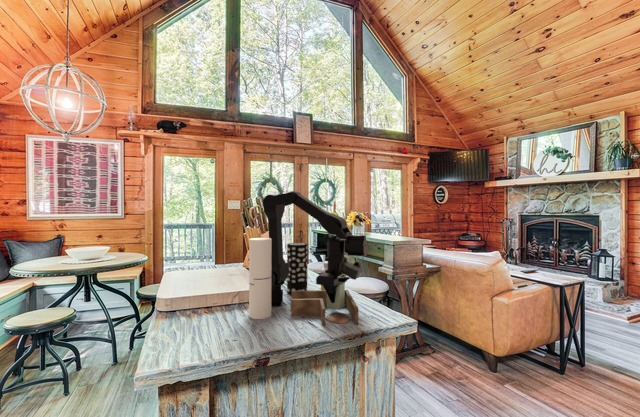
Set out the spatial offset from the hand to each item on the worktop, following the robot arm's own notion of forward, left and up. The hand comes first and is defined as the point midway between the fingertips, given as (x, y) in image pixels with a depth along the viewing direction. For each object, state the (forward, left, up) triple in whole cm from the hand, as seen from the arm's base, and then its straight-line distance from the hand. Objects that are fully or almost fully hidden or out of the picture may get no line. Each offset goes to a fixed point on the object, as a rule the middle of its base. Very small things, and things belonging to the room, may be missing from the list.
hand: (335, 300), depth 106 cm
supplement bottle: (0, +23, -4) cm, 23 cm away
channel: (-5, 0, -4) cm, 6 cm away
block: (0, 0, -2) cm, 2 cm away
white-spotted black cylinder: (-13, +25, -4) cm, 28 cm away
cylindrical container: (-25, -1, -4) cm, 25 cm away
